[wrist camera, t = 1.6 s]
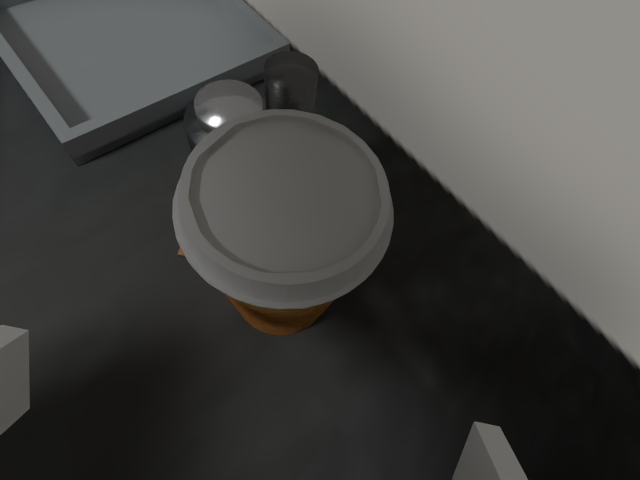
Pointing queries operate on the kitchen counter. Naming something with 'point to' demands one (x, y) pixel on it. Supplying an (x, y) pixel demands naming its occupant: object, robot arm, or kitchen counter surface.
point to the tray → (127, 61)
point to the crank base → (196, 133)
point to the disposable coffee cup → (283, 215)
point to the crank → (240, 98)
